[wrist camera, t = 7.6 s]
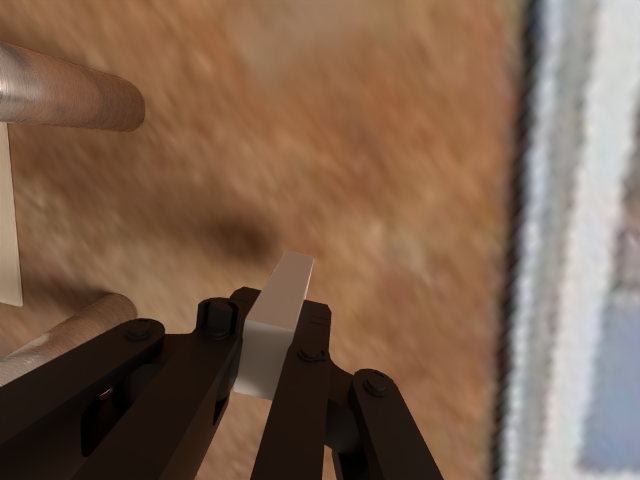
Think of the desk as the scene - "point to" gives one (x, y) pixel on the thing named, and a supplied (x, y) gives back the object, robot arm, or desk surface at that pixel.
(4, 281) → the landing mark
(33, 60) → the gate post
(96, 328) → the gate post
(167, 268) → the desk surface
